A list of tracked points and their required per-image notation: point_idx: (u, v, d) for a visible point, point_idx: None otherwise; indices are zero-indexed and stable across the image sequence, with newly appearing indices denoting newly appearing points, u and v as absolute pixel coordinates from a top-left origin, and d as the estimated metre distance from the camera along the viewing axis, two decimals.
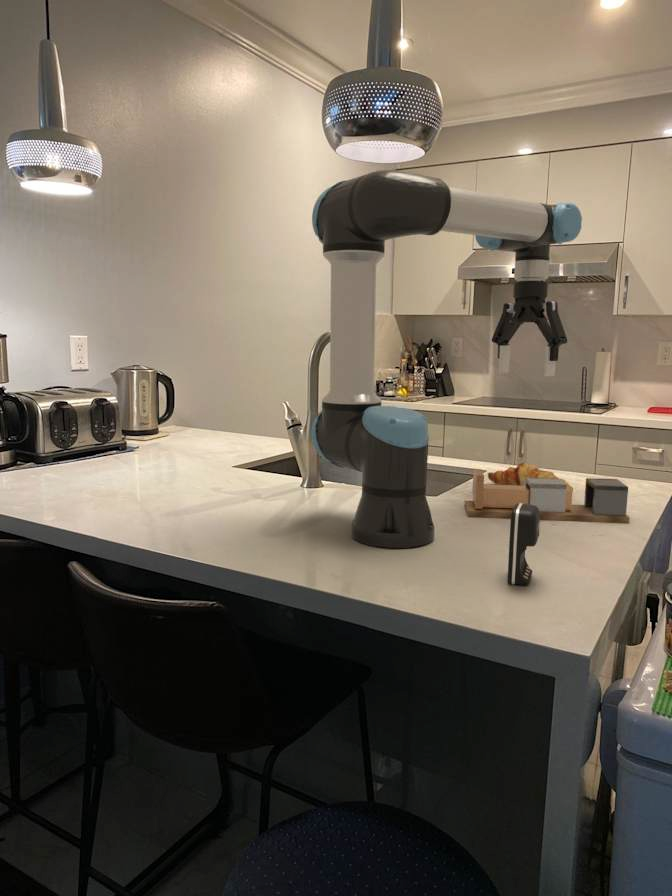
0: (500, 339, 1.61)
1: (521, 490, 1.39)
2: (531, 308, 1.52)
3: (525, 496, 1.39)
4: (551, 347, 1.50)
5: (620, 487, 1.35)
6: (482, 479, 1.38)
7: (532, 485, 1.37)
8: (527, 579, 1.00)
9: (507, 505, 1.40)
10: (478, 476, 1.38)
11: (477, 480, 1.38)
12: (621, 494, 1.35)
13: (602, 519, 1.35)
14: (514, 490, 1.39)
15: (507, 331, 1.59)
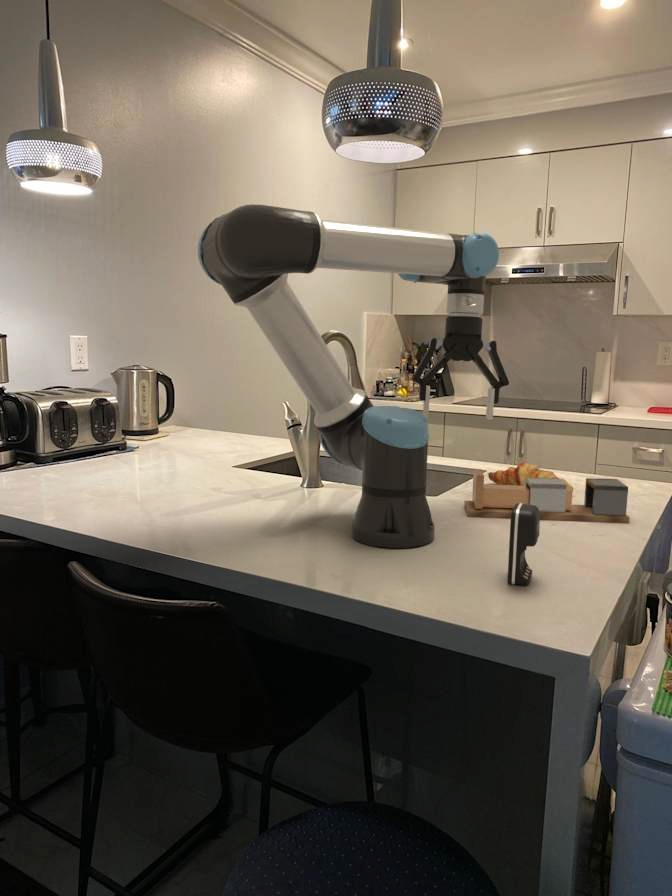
0: None
1: (521, 490, 1.39)
2: None
3: (525, 496, 1.39)
4: None
5: (620, 487, 1.35)
6: (482, 479, 1.38)
7: (532, 485, 1.37)
8: (527, 579, 1.00)
9: (507, 505, 1.40)
10: (478, 476, 1.38)
11: (477, 480, 1.38)
12: (621, 494, 1.35)
13: (602, 519, 1.35)
14: (514, 490, 1.39)
15: None
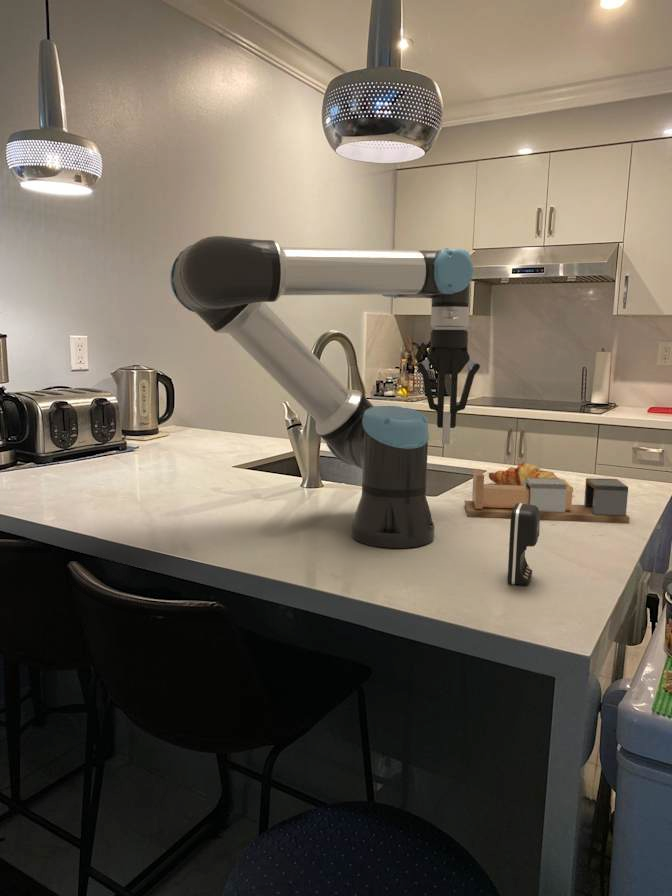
0: None
1: (521, 490, 1.39)
2: None
3: (525, 496, 1.39)
4: None
5: (620, 487, 1.35)
6: (482, 479, 1.38)
7: (532, 485, 1.37)
8: (527, 579, 1.00)
9: (507, 505, 1.40)
10: (478, 476, 1.38)
11: (477, 480, 1.38)
12: (621, 494, 1.35)
13: (602, 519, 1.35)
14: (514, 490, 1.39)
15: None
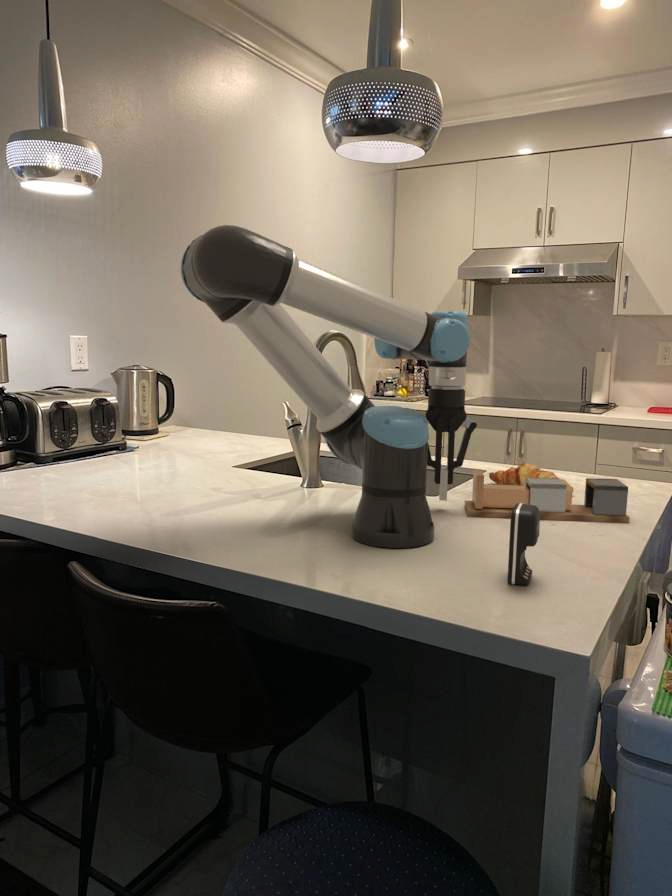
0: None
1: (521, 490, 1.39)
2: None
3: (525, 496, 1.39)
4: None
5: (620, 487, 1.35)
6: (482, 479, 1.38)
7: (532, 485, 1.37)
8: (527, 579, 1.00)
9: (507, 505, 1.40)
10: (478, 476, 1.38)
11: (477, 480, 1.38)
12: (621, 494, 1.35)
13: (602, 519, 1.35)
14: (514, 490, 1.39)
15: None
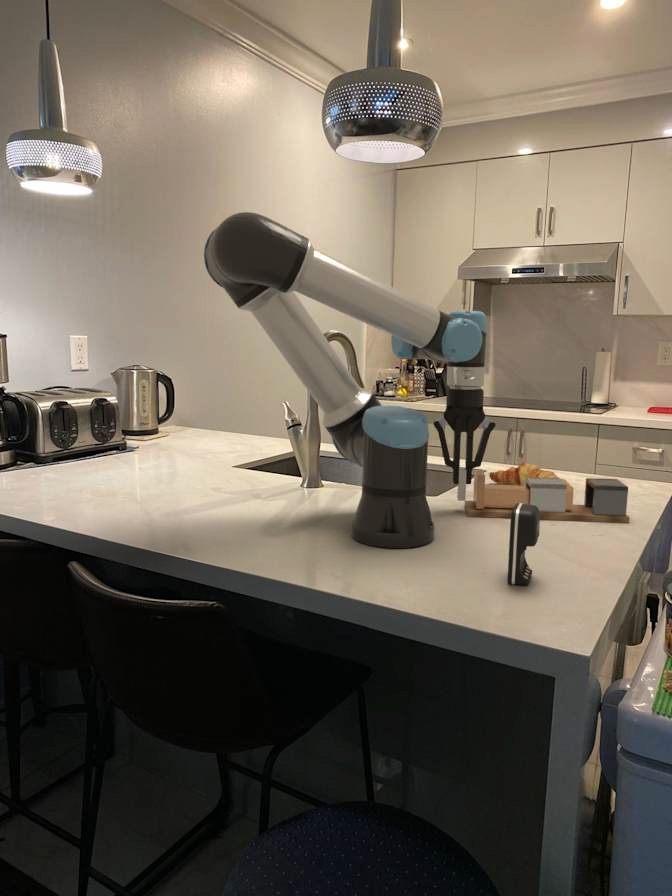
0: None
1: (522, 490, 1.39)
2: None
3: (526, 496, 1.39)
4: None
5: (620, 487, 1.35)
6: (483, 479, 1.38)
7: (532, 485, 1.37)
8: (527, 579, 1.00)
9: (508, 505, 1.39)
10: (479, 476, 1.38)
11: (478, 480, 1.38)
12: (621, 494, 1.35)
13: (602, 519, 1.35)
14: (515, 490, 1.39)
15: None
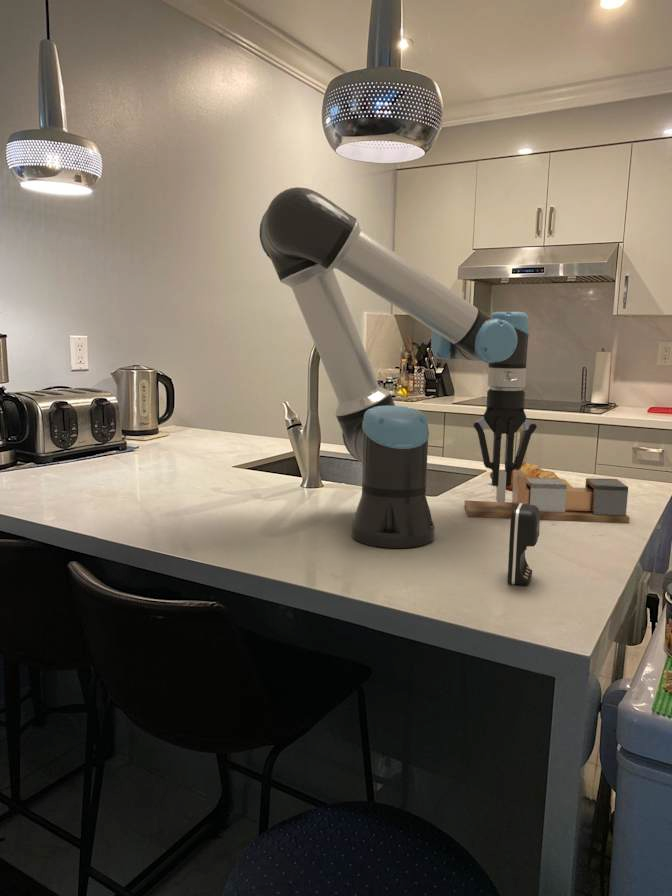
0: None
1: None
2: None
3: (567, 497, 1.38)
4: None
5: (620, 487, 1.35)
6: (524, 480, 1.37)
7: (532, 485, 1.37)
8: (527, 579, 1.00)
9: None
10: (520, 477, 1.37)
11: (519, 481, 1.37)
12: (621, 494, 1.35)
13: (602, 519, 1.35)
14: None
15: None
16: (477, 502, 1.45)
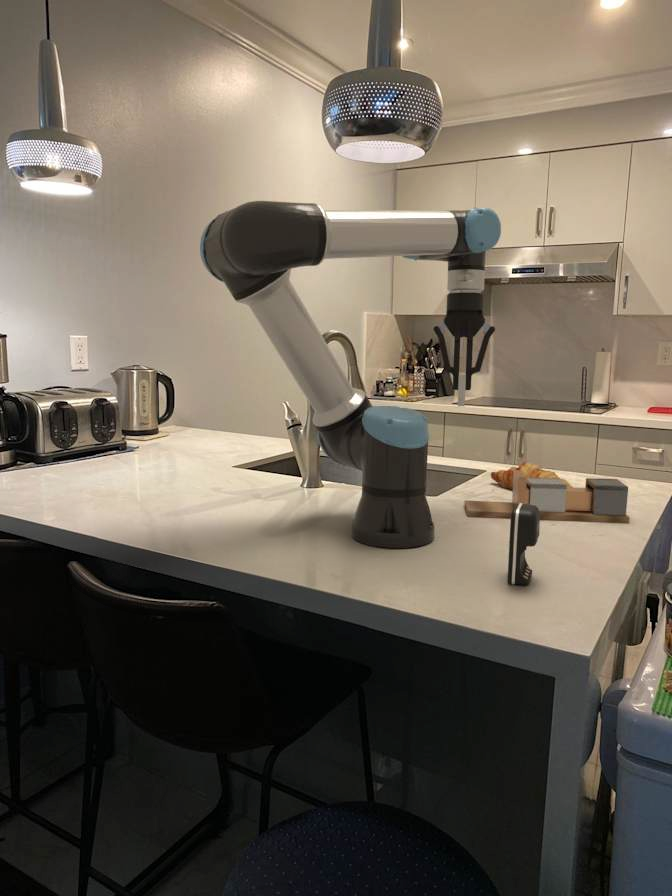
0: None
1: None
2: None
3: (567, 497, 1.38)
4: None
5: (620, 487, 1.35)
6: (524, 480, 1.37)
7: (532, 485, 1.37)
8: (527, 579, 1.00)
9: None
10: (520, 477, 1.37)
11: (519, 481, 1.37)
12: (621, 494, 1.35)
13: (602, 519, 1.35)
14: None
15: None
16: (477, 502, 1.45)
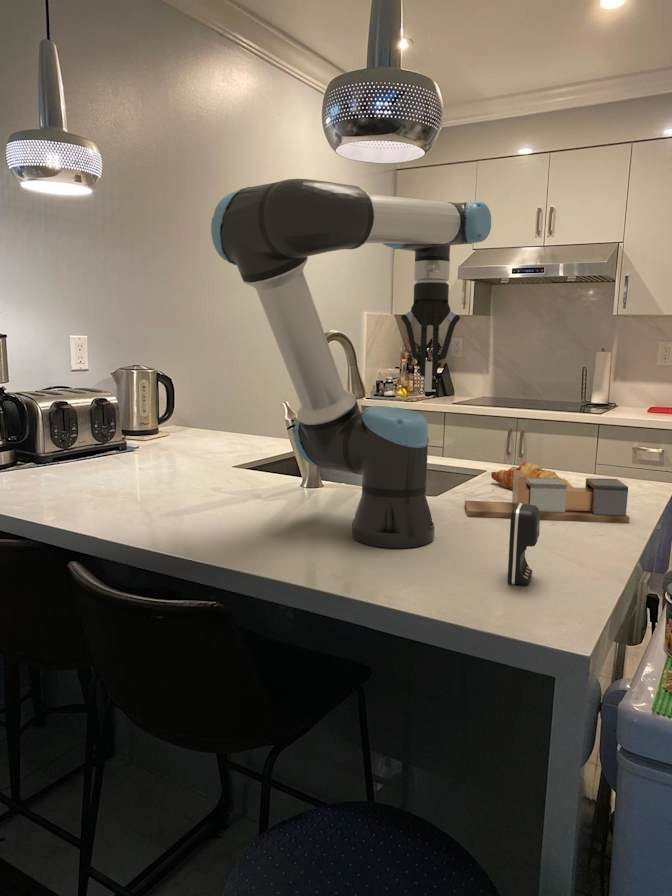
0: None
1: None
2: None
3: (567, 497, 1.38)
4: None
5: (620, 487, 1.35)
6: (524, 480, 1.37)
7: (532, 485, 1.37)
8: (527, 579, 1.00)
9: None
10: (520, 477, 1.37)
11: (519, 481, 1.37)
12: (621, 494, 1.35)
13: (602, 519, 1.35)
14: None
15: None
16: (477, 502, 1.45)
